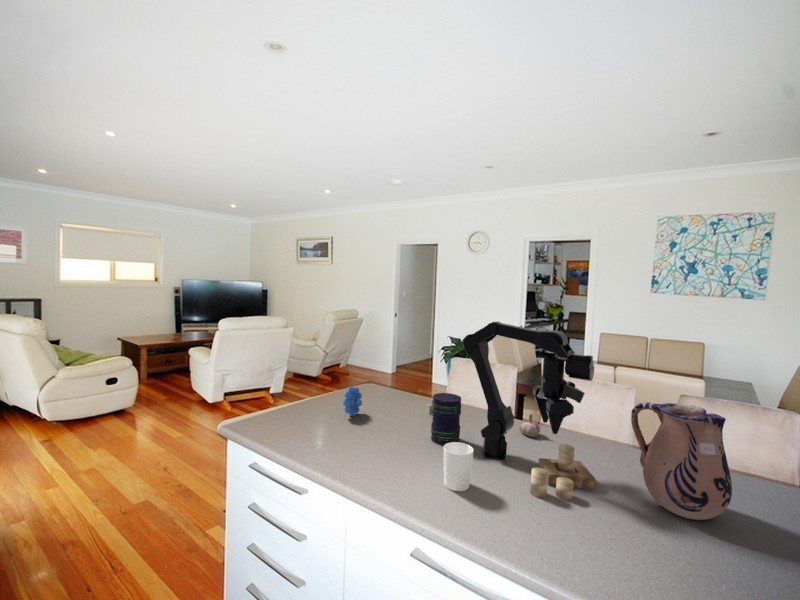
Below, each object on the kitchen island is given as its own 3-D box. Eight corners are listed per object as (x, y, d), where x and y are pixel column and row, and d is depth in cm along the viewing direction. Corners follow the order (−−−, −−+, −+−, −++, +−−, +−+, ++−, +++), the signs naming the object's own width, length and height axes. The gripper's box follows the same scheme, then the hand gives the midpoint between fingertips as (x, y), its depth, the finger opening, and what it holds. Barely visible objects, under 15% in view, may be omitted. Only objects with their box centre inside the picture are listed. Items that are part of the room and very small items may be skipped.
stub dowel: (558, 499, 99) (559, 484, 99) (553, 491, 103) (554, 476, 103) (574, 501, 98) (575, 485, 98) (569, 492, 102) (570, 477, 102)
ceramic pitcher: (736, 542, 85) (745, 428, 84) (624, 509, 96) (631, 408, 95) (722, 505, 99) (730, 408, 98) (626, 480, 111) (632, 393, 110)
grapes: (352, 422, 147) (354, 390, 146) (338, 418, 150) (339, 388, 149) (369, 413, 157) (370, 384, 157) (355, 410, 160) (356, 381, 160)
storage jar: (426, 442, 131) (428, 398, 130) (435, 432, 140) (437, 391, 140) (455, 448, 127) (458, 403, 127) (462, 437, 136) (464, 395, 136)
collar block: (548, 485, 106) (549, 474, 106) (538, 468, 116) (538, 458, 116) (594, 488, 105) (594, 478, 105) (579, 471, 115) (580, 461, 115)
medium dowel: (532, 497, 99) (533, 474, 99) (528, 489, 103) (529, 467, 103) (548, 498, 99) (550, 475, 99) (544, 490, 103) (545, 468, 103)
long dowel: (559, 480, 108) (561, 449, 108) (555, 474, 112) (557, 443, 112) (574, 482, 108) (576, 450, 108) (569, 475, 112) (571, 444, 112)
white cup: (453, 495, 98) (455, 456, 98) (436, 480, 105) (437, 444, 105) (477, 489, 102) (479, 451, 102) (459, 475, 109) (461, 440, 109)
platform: (427, 409, 168) (428, 393, 168) (465, 418, 157) (466, 402, 157) (412, 415, 158) (412, 399, 158) (451, 426, 148) (452, 409, 147)
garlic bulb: (537, 440, 137) (538, 418, 137) (516, 435, 141) (517, 413, 141) (541, 433, 144) (542, 412, 144) (521, 429, 147) (522, 408, 147)
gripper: (595, 384, 103) (591, 442, 103) (570, 369, 121) (567, 418, 122) (552, 381, 103) (548, 439, 104) (533, 367, 122) (530, 416, 123)
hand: (549, 427), depth 113 cm, fingers open, 9 cm apart
